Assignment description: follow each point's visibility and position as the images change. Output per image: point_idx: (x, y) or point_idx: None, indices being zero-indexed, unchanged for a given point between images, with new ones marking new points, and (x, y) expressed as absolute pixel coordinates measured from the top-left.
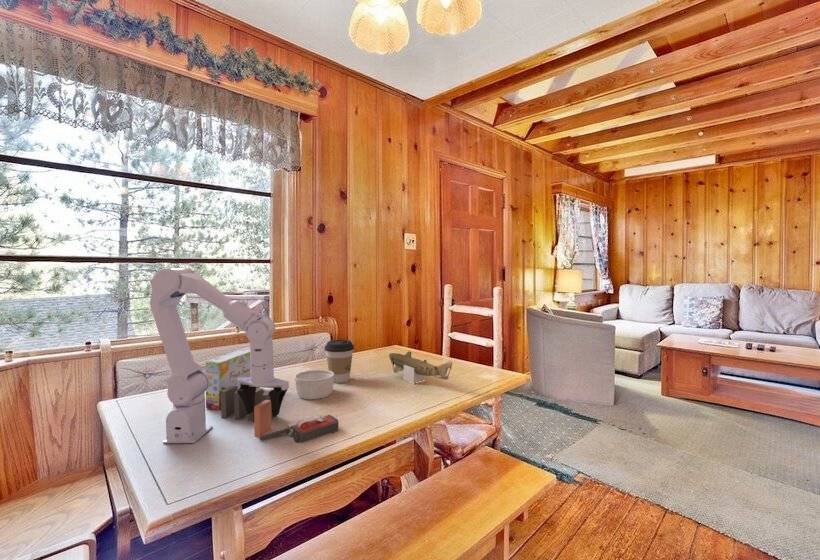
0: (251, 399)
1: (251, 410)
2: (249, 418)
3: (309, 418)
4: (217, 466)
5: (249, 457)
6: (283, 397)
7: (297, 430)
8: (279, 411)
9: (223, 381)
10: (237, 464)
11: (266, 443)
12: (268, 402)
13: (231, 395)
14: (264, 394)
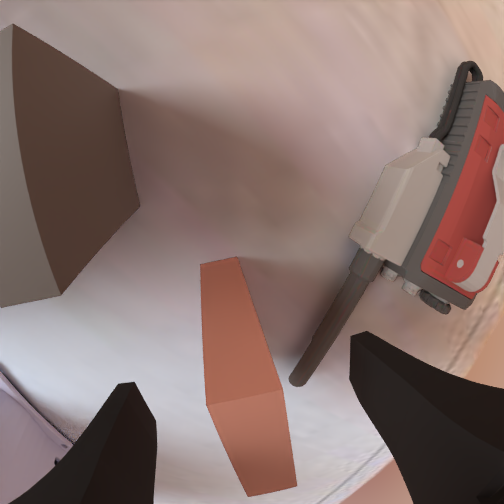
0: (126, 486)
1: (144, 417)
2: None
3: (496, 225)
4: None
5: (330, 432)
6: (478, 387)
7: (455, 303)
8: (380, 339)
9: None
10: (322, 456)
11: (325, 366)
12: (285, 414)
13: None
14: (9, 275)
